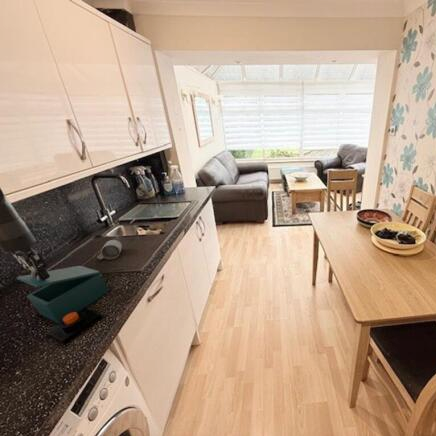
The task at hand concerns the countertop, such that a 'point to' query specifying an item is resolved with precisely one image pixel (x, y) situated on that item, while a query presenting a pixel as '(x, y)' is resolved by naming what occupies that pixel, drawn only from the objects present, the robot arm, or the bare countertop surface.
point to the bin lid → (57, 275)
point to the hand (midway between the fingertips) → (41, 276)
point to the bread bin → (67, 296)
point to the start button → (70, 318)
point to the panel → (74, 326)
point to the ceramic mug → (110, 250)
